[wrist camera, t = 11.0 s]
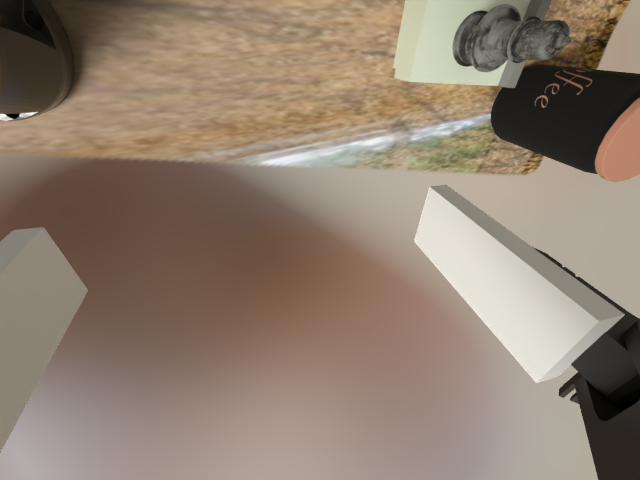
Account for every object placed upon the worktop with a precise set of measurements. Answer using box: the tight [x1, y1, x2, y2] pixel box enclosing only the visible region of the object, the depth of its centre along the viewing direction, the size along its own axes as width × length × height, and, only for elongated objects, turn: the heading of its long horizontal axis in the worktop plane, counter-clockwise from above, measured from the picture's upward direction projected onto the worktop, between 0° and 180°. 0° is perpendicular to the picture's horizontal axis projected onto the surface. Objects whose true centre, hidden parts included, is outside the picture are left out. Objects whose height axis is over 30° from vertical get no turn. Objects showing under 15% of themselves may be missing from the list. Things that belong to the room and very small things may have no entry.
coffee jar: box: [491, 65, 640, 182], centre depth 37 cm, size 11×11×18 cm
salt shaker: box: [452, 4, 571, 72], centre depth 27 cm, size 6×6×12 cm
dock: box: [391, 0, 551, 88], centre depth 34 cm, size 14×9×7 cm, turn 87°
